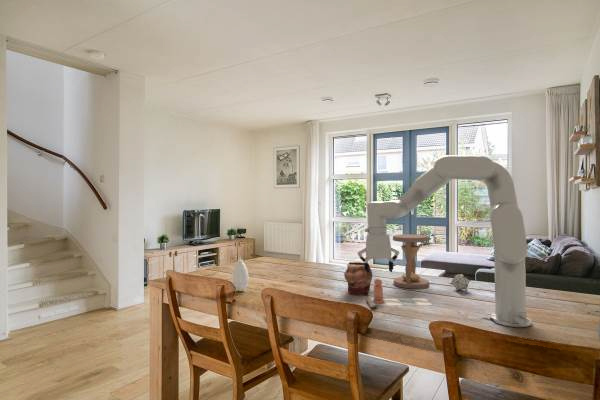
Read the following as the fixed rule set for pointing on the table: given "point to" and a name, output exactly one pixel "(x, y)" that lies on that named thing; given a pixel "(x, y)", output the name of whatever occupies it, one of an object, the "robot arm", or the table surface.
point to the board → (395, 302)
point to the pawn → (378, 292)
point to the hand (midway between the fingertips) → (379, 271)
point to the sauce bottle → (240, 275)
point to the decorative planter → (358, 278)
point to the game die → (460, 282)
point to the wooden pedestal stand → (411, 262)
